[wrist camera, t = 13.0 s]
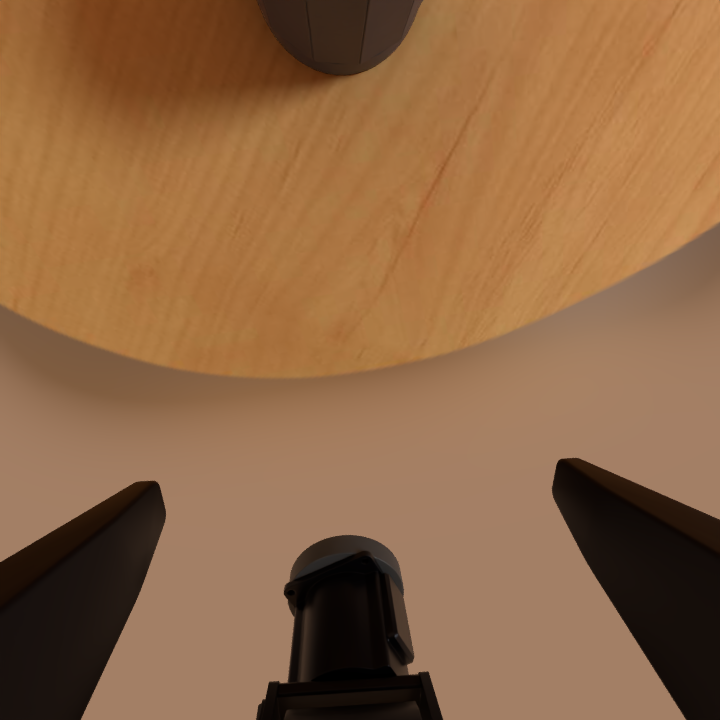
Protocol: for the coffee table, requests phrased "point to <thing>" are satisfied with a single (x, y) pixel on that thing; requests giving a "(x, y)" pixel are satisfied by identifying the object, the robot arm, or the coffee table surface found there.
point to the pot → (340, 30)
